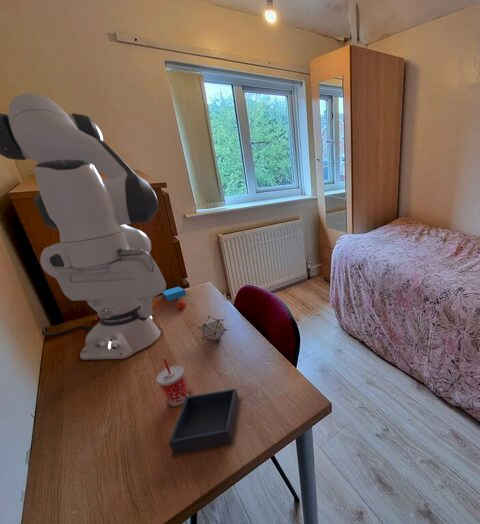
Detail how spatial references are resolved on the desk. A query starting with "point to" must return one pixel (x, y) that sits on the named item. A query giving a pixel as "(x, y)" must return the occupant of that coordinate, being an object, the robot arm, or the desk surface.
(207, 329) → the game die
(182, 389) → the beverage cup
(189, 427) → the tote
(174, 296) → the lever
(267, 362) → the desk surface
